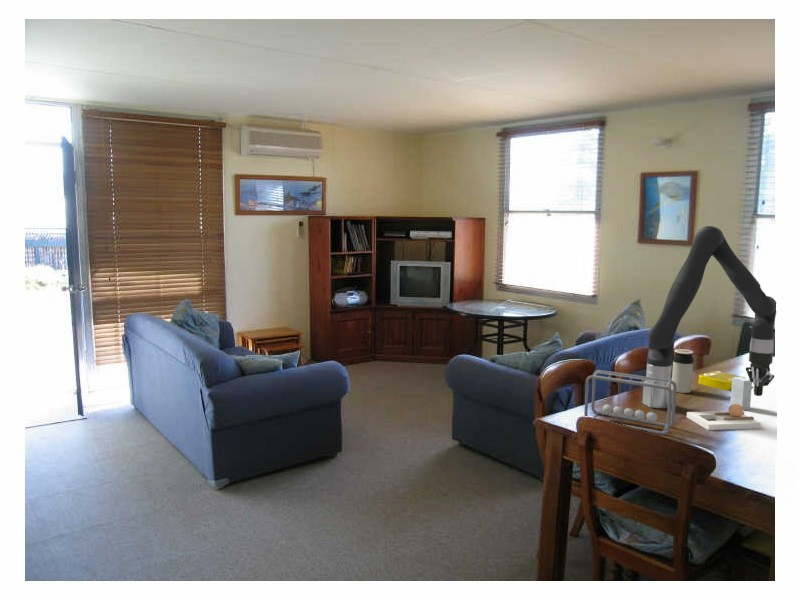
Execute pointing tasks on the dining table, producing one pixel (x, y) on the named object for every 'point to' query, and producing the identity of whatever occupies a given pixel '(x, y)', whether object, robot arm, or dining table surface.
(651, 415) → the newton's cradle
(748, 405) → the skincare box
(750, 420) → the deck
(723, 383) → the element tile
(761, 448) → the dining table surface
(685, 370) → the travel mug
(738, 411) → the ball
